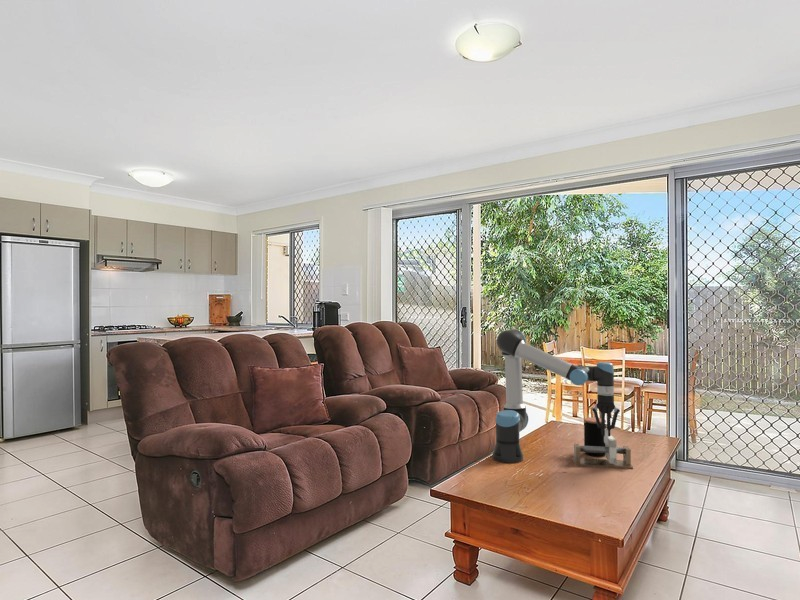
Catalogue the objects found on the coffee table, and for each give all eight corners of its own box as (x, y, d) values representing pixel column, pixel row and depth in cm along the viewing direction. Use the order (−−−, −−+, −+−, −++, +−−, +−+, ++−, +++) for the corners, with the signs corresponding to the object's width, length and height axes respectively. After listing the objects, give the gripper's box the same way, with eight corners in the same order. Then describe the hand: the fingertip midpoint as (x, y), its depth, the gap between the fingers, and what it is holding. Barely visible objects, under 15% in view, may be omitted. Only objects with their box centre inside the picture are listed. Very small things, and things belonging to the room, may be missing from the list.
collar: (610, 463, 243) (609, 440, 243) (605, 457, 253) (605, 435, 253) (616, 463, 242) (616, 440, 242) (611, 457, 252) (611, 435, 252)
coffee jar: (602, 451, 270) (602, 417, 270) (608, 457, 259) (608, 422, 259) (582, 451, 271) (581, 417, 271) (587, 456, 260) (587, 421, 260)
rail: (575, 465, 246) (575, 447, 246) (572, 459, 256) (572, 442, 256) (633, 468, 241) (632, 450, 241) (627, 462, 251) (627, 444, 251)
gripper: (592, 395, 246) (593, 444, 245) (621, 395, 243) (622, 445, 243) (590, 392, 253) (590, 440, 253) (617, 393, 251) (618, 441, 250)
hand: (606, 442), depth 248 cm, fingers closed
